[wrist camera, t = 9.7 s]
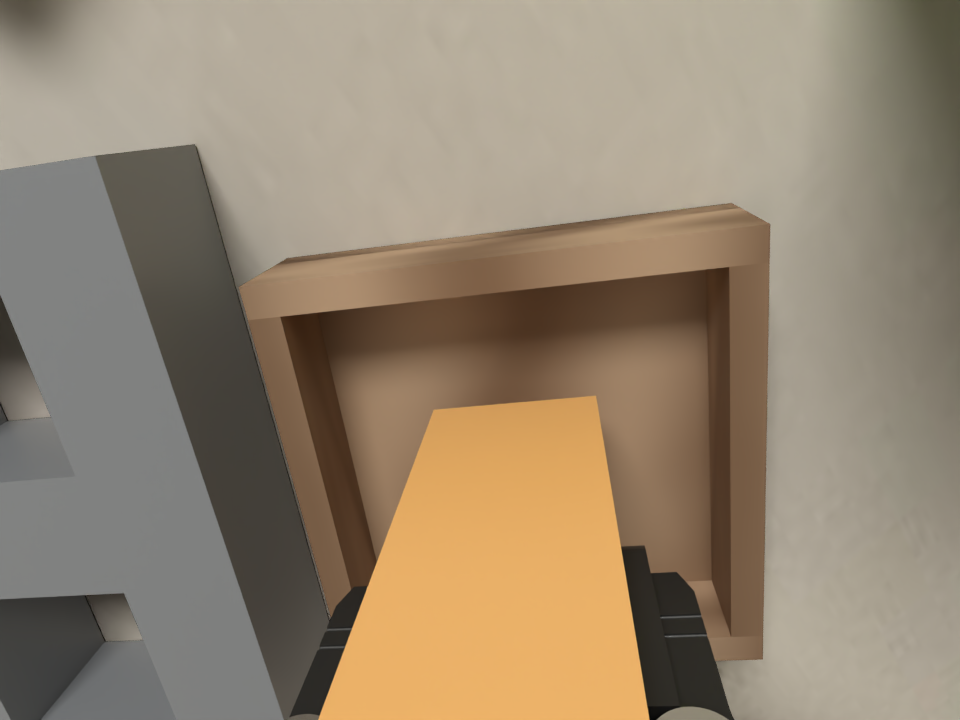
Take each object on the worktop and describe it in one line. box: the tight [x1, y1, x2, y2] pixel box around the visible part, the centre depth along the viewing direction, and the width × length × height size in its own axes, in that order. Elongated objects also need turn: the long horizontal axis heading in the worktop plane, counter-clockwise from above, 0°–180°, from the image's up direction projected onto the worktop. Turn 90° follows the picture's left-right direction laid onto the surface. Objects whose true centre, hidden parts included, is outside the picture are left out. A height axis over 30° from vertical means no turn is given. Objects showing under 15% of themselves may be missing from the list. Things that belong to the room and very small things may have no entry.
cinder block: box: [0, 144, 329, 720], centre depth 19 cm, size 12×18×4 cm, turn 8°
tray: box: [239, 203, 770, 661], centre depth 17 cm, size 12×12×3 cm
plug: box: [318, 396, 649, 720], centre depth 12 cm, size 4×4×9 cm
